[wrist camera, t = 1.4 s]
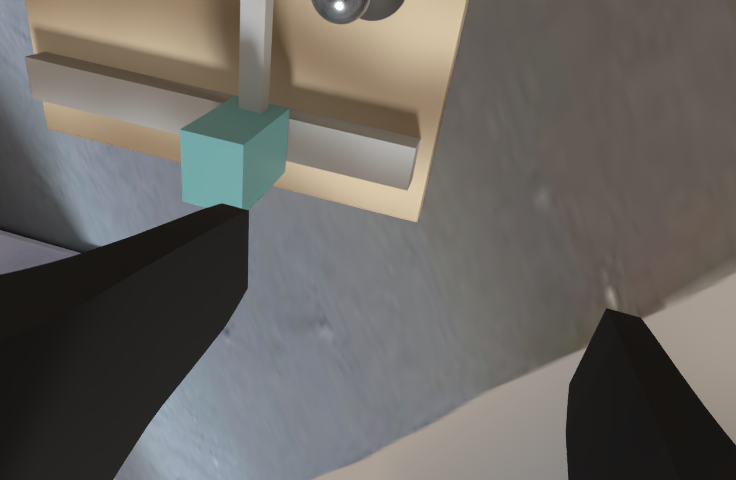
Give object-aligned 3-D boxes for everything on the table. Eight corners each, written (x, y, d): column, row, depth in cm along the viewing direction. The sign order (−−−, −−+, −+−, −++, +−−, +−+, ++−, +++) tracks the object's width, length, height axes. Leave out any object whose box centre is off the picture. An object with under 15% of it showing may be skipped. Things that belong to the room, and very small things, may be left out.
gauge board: (422, 208, 22) (412, 235, 20) (67, 120, 24) (29, 136, 22) (495, -117, 16) (490, -122, 14) (18, -195, 18) (-39, -208, 16)
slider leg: (294, 162, 21) (241, 217, 17) (245, 150, 21) (182, 201, 17) (310, -47, 17) (248, -37, 13) (251, -58, 17) (172, -51, 13)
